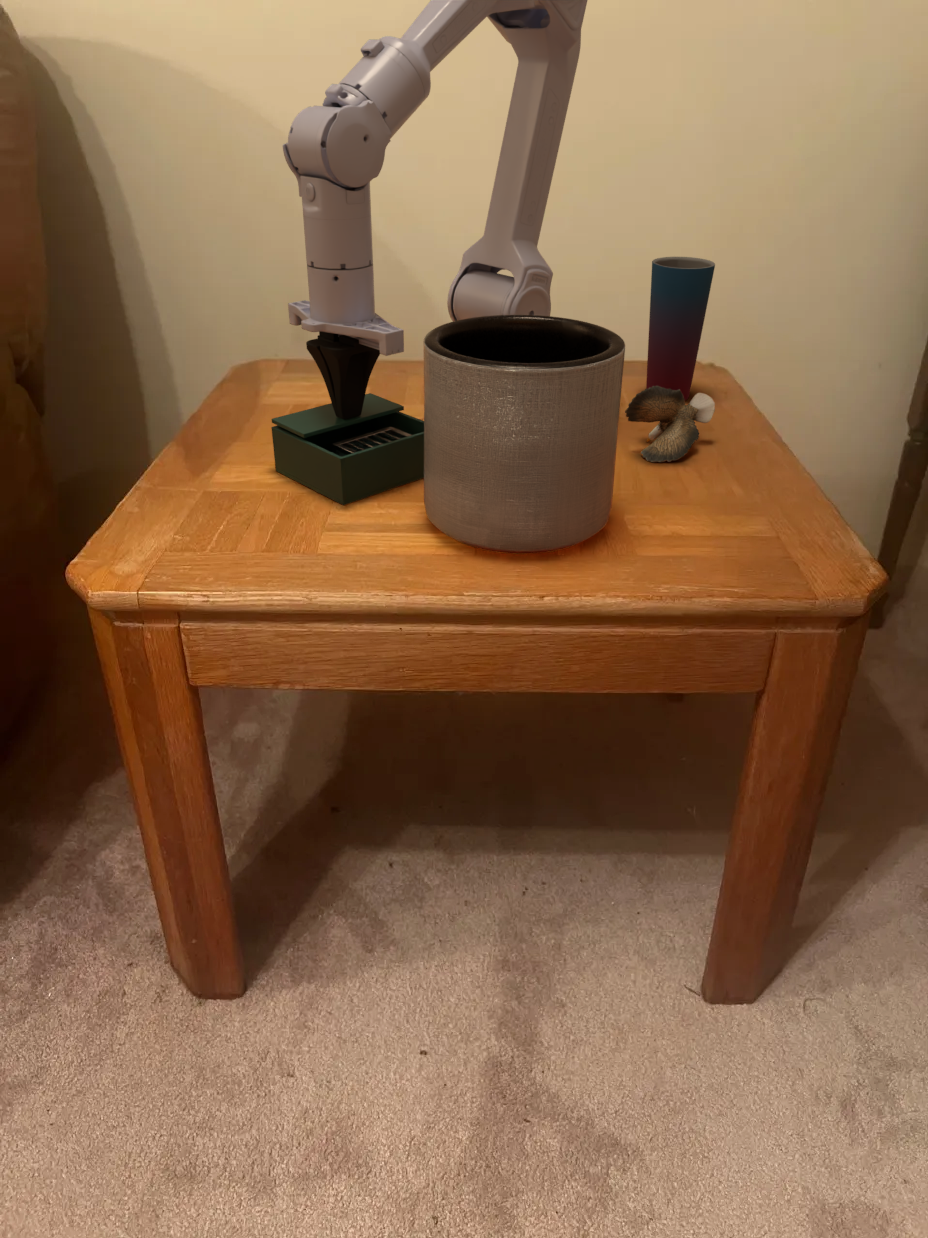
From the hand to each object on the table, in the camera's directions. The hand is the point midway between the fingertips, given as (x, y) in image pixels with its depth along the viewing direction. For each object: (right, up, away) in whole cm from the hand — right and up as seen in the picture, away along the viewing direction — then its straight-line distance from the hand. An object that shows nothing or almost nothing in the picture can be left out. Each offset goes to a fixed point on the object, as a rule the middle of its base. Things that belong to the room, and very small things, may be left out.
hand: (348, 415), depth 89 cm
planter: (+15, -11, -7) cm, 20 cm away
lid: (-1, 0, +1) cm, 2 cm away
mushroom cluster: (+32, -2, +8) cm, 33 cm away
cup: (+35, +7, +23) cm, 42 cm away
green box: (+1, -5, +2) cm, 5 cm away
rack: (+3, -5, +1) cm, 6 cm away
